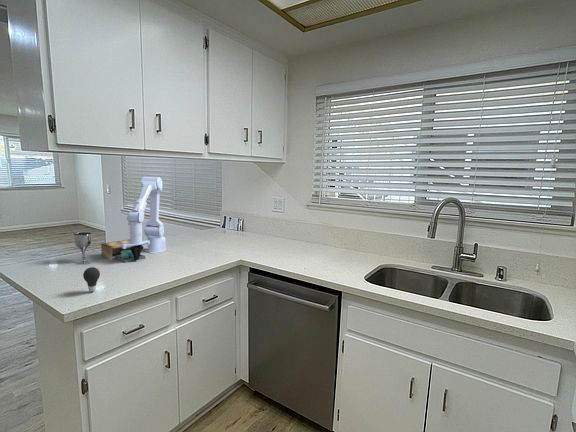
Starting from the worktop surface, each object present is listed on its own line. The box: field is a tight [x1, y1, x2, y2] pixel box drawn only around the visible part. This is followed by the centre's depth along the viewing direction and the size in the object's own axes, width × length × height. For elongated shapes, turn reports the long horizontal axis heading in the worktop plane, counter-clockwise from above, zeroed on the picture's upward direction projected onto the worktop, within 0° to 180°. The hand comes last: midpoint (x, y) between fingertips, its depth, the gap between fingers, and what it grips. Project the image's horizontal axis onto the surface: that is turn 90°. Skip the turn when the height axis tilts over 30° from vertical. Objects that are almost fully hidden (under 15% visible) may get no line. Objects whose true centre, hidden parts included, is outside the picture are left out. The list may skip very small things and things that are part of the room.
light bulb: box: [82, 266, 101, 293], centre depth 124 cm, size 6×6×10 cm
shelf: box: [100, 238, 130, 260], centre depth 175 cm, size 16×10×7 cm, turn 143°
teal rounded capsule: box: [120, 250, 129, 259], centre depth 167 cm, size 4×4×4 cm
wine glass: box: [72, 231, 93, 265], centre depth 159 cm, size 8×8×15 cm
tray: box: [114, 253, 146, 264], centre depth 170 cm, size 11×11×2 cm
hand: (136, 259), depth 166 cm, fingers closed
